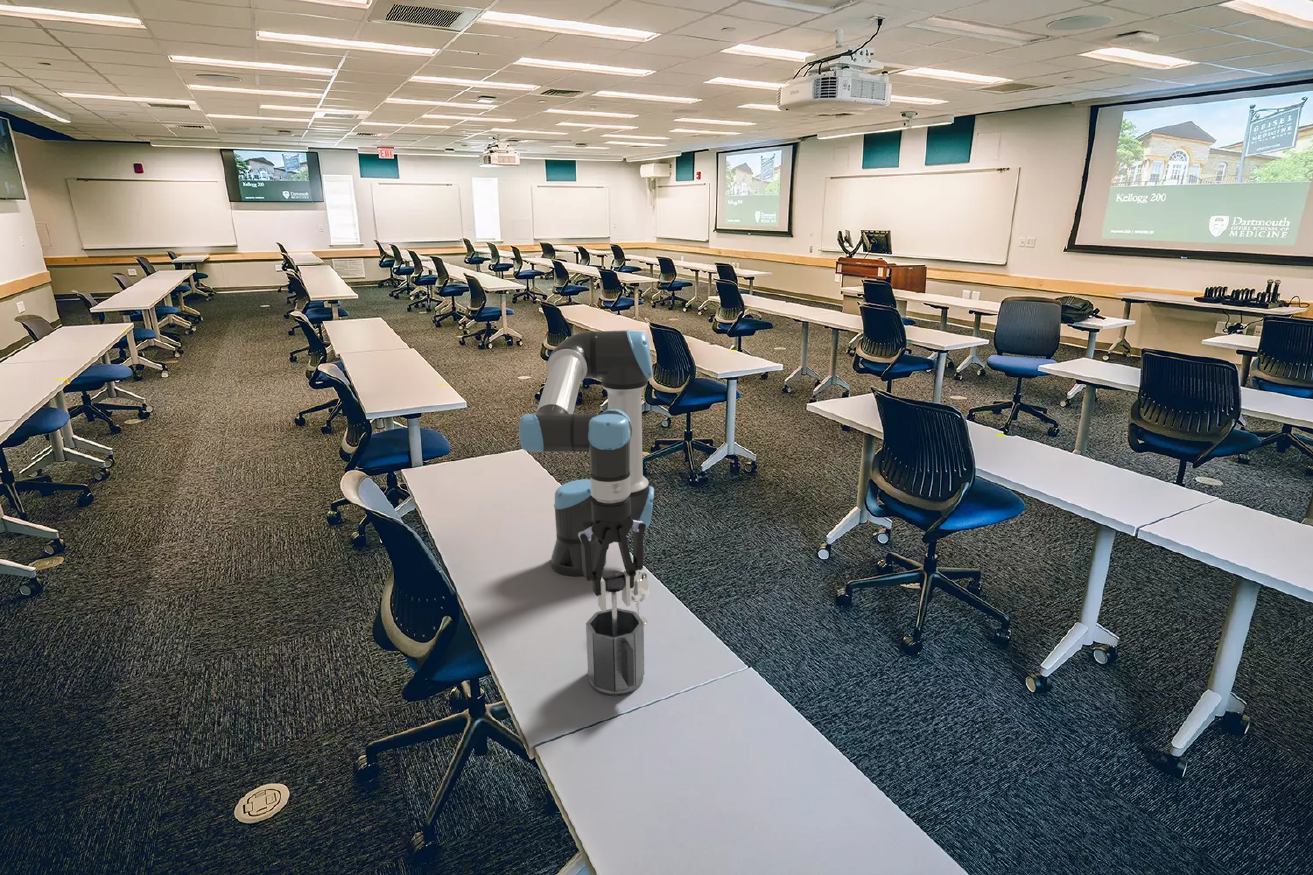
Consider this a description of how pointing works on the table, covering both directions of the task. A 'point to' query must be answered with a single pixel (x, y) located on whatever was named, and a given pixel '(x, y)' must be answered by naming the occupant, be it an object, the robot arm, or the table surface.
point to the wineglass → (640, 591)
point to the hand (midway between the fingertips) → (614, 605)
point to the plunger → (614, 592)
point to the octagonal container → (615, 652)
